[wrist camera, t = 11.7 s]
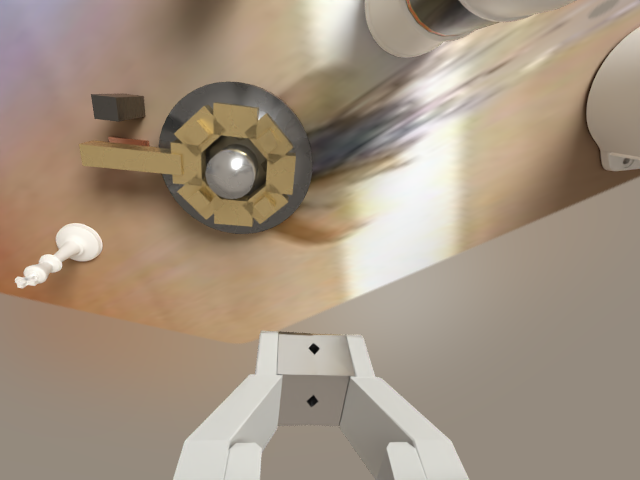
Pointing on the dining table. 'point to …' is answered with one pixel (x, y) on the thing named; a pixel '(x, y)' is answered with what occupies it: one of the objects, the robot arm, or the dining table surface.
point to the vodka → (441, 20)
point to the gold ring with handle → (191, 162)
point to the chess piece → (64, 253)
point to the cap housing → (223, 146)
